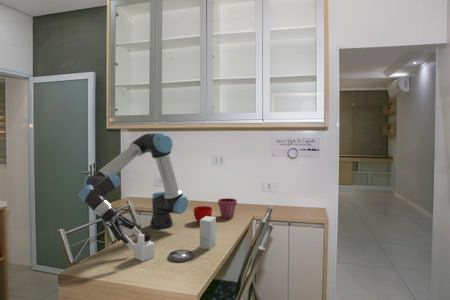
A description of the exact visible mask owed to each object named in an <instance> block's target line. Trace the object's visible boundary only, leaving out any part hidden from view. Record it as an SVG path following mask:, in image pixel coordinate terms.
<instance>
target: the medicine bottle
mask: <svg viewBox="0 0 450 300" xmlns="http://www.w3.org/2000/svg"><path fill="white" fill-rule="evenodd" d="M151 239H152V238H151V233H150V232H148V231H143V232H141V233H140V234H138V237H137V242H136V243H134V244H135V246H134V247H133V258H134V259H136V260H139V261H141V262H145V261H148V260H151V259H153V258H155V242H153V241H151Z"/></svg>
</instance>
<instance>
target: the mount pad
mask: <svg viewBox="0 0 450 300" xmlns="http://www.w3.org/2000/svg"><path fill="white" fill-rule="evenodd" d="M193 258H194V253H193V251H191V250H188V249H177V250H176V249H175V250H173V251H171V252H169V254H168V260H169V261H171V262H173V263H185V262H188V261H191V260H193Z"/></svg>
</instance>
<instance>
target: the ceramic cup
mask: <svg viewBox="0 0 450 300" xmlns="http://www.w3.org/2000/svg"><path fill="white" fill-rule="evenodd" d="M212 214H213V207H211V206H207V205H206V206H205V205H202V206H201V205H200V206H195V207H194V208H193V216H194V218H195V220H196V221H197V222H198V224H200V220H201V219H202V218H204V217H205V216H210V217H212Z"/></svg>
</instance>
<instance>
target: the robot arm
mask: <svg viewBox="0 0 450 300" xmlns="http://www.w3.org/2000/svg"><path fill="white" fill-rule="evenodd" d="M173 144H174V143H173V140H172V138H171V137H170V136H169V135H168V134H167V133H163V132H157V133H156V132H154V133H145V134H142V135H141V136H139V137H138V138H136V139H135V140H134V141H132V142H131V143H130V144H129V147H127V148H125V150H124V151H122V152H121V153H120V154H118V155H117V156H116V157H114V158H113V159H112V160H111V161H109V162H108V163H107V164H106V165H104V166H103V167H101V168H100V169H99V170H98V171H97V172H95V173H94V174H91V175H87V176H86V177H85V178H84V180H83V185H84V187H83V188H82V189H80V191H79V192H78V197H79V198H80V199H81V200H82V203H83V202H84V203H85V204H86V205H87V206H88V207H89V208H90V209H91V210H92V211H93V212H94V213H95V214H96V215H97V216H98V217H100V218H101V220H102V221H103V222H104V223H106V226H107V227H108V229H110V231H111V233H112V235H113V237H114V238H115V239H116V241H118V242H120V241H122V242H123V244H124V245H126V247H127V248H128V249H130V250H133V249H134V246H135V243H134V242H133V240H131V239H130V237H128V236H127V235H125V233H124V232H123V229H122V227H124V228H128V229H130V232H131V233H132V234H134V235H135V237H137V238H138V234H140V233H142V232H141V230H139V229H138V228H137V227H136V226H137V224H136V223H135V222H134V221H132V220H130V219H129V218H127V217H126V216H124V215H123V214H122V213H119V214H118V212H119V211H118V209H117V208H115V206H113V205H112V204H111V202H109V200H108V199H106V197H107V196H108V195H110V194H111V193H113V191H114V190H116V189H117V188H118V187H119V186H120V185H121V183H122V181H121V178H120V176H118V175H117V174H118V173H119V172H121V171H122V170H123V169H124V168H125V167H127V166H128V165H129V164H131V162H133V161H134V160H135V159H136V158H138V157H141V156H143V155H145V154H146V153H150V155H151V158H152V159H154V160H155V163H156V165H157V169H158V172H159V175H160V178H161V179H160V180H161V183H162V186H163V191H157V192H153V194H152V200H151V201H152V202H151V203H152V204H151V205H152V207H151V209H152V215H151V217H150V218H151V219H150V223H149V227H150V228H151V229H158V230H159V229H160V230H161V229H162V230H163V229H167V228H170V227H173V226H174V225H173V224H174V222H173V219H172V215H171V214H175V215H182V214H183V213H185V212H186V210H187V208H188V205H189V199H188V198H187V196H185V195H184V194H183V192H182V190H181V189H179V185H178V183H177V178H176V175H175V174H176V173H175V172H174V167H173V164H172V161H171V157H170V155H171V154H172V149H173Z"/></svg>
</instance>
